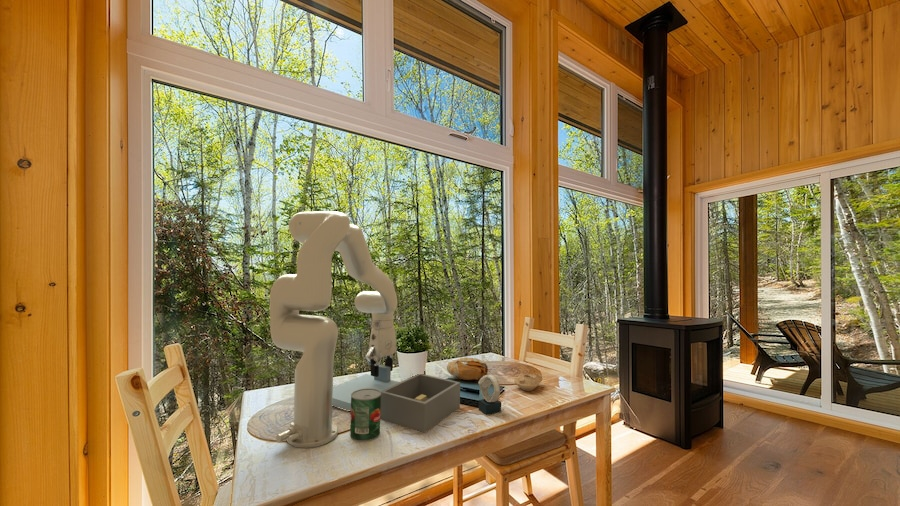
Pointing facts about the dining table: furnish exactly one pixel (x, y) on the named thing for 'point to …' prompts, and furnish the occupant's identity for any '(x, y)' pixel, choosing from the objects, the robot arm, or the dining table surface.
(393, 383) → the lid
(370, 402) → the canned tomato
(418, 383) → the tub
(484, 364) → the bread loaf
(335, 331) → the robot arm
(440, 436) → the dining table surface
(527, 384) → the pottery oil lamp
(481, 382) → the stone ring on base
